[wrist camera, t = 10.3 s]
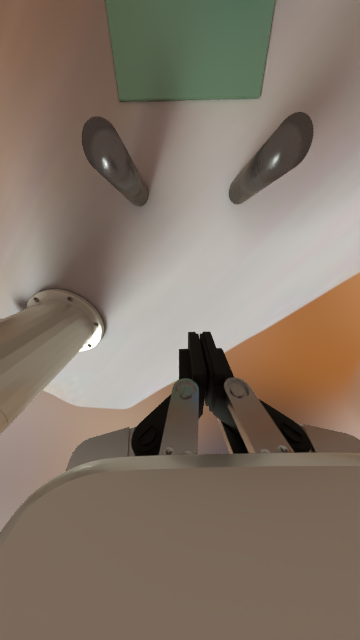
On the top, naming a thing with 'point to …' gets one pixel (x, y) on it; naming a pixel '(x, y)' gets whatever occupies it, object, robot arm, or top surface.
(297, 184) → the top surface
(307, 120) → the post
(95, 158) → the post
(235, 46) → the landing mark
